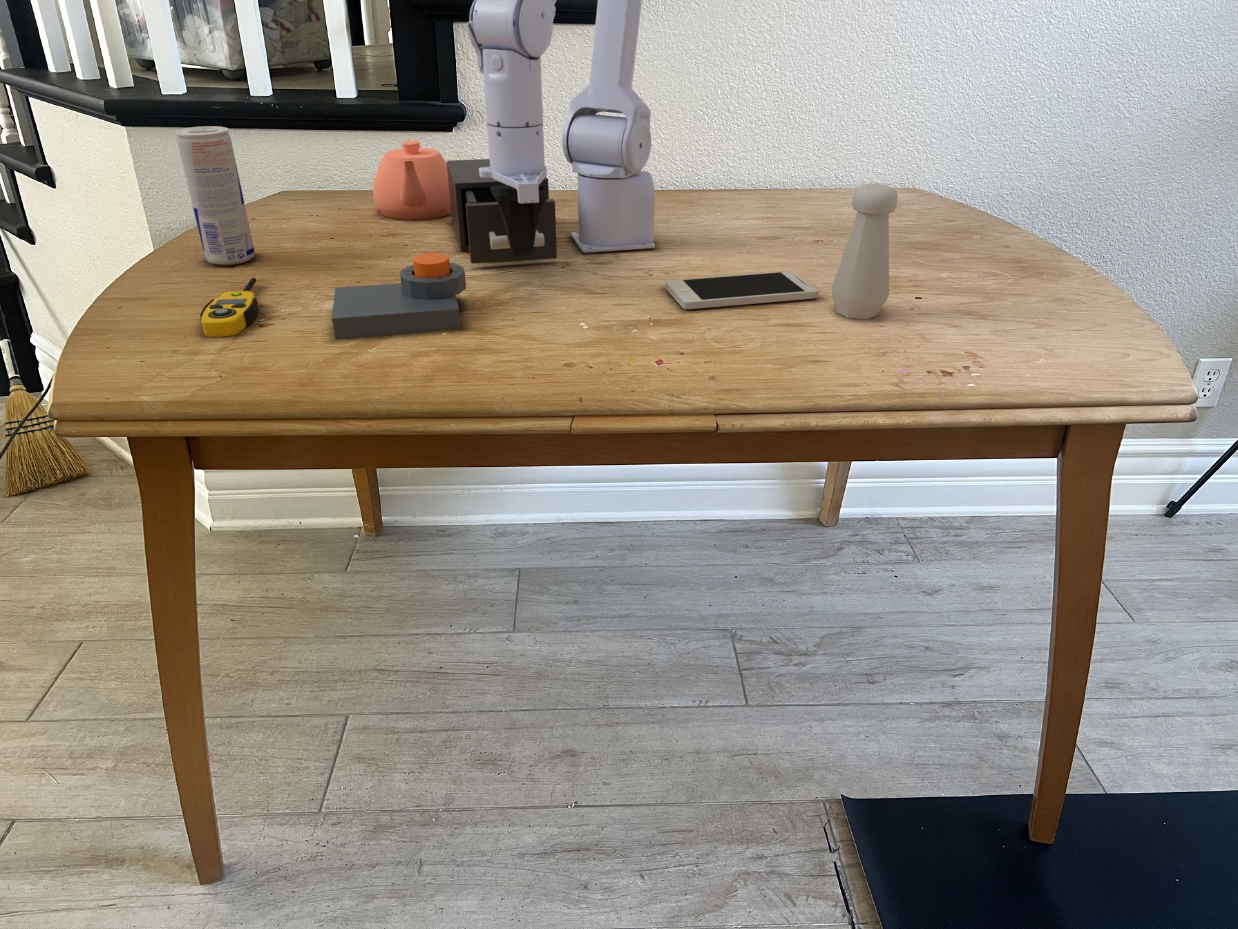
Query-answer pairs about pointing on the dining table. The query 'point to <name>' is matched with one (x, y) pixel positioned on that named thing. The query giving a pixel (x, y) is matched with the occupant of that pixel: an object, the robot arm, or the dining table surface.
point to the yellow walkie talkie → (230, 312)
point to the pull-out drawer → (503, 229)
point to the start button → (431, 265)
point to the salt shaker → (866, 254)
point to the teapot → (412, 183)
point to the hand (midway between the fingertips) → (521, 253)
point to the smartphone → (740, 289)
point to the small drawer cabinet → (465, 177)
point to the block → (399, 305)
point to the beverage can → (216, 194)
